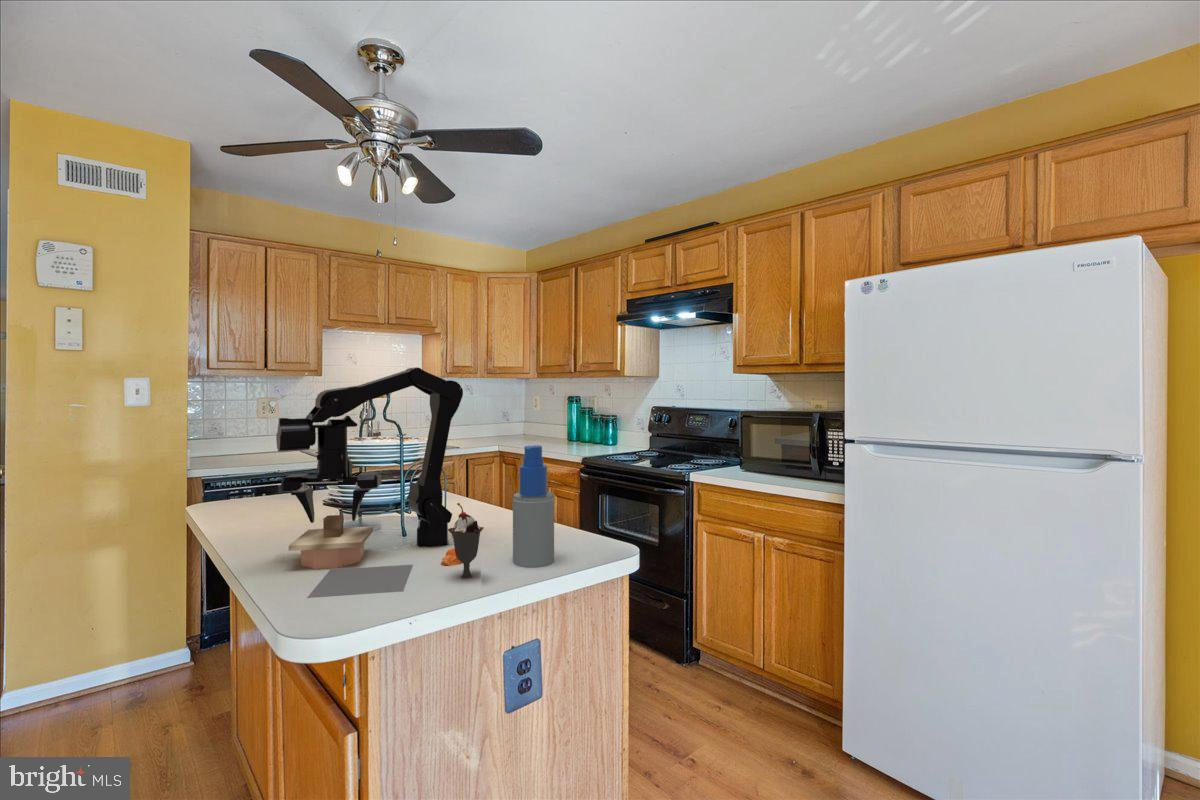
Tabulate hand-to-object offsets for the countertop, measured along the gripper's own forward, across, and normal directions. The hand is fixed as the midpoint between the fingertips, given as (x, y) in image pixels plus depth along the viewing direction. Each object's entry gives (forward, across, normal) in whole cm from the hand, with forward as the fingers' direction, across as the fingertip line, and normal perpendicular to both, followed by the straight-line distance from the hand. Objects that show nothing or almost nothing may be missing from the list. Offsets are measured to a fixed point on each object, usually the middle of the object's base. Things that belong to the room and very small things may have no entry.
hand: (333, 521), depth 123 cm
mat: (+9, -9, +15) cm, 20 cm away
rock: (+10, -25, +6) cm, 28 cm away
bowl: (+9, 0, 0) cm, 9 cm away
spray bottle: (+9, -42, +7) cm, 44 cm away
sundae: (+9, -28, +17) cm, 34 cm away
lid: (+4, 0, 0) cm, 4 cm away
